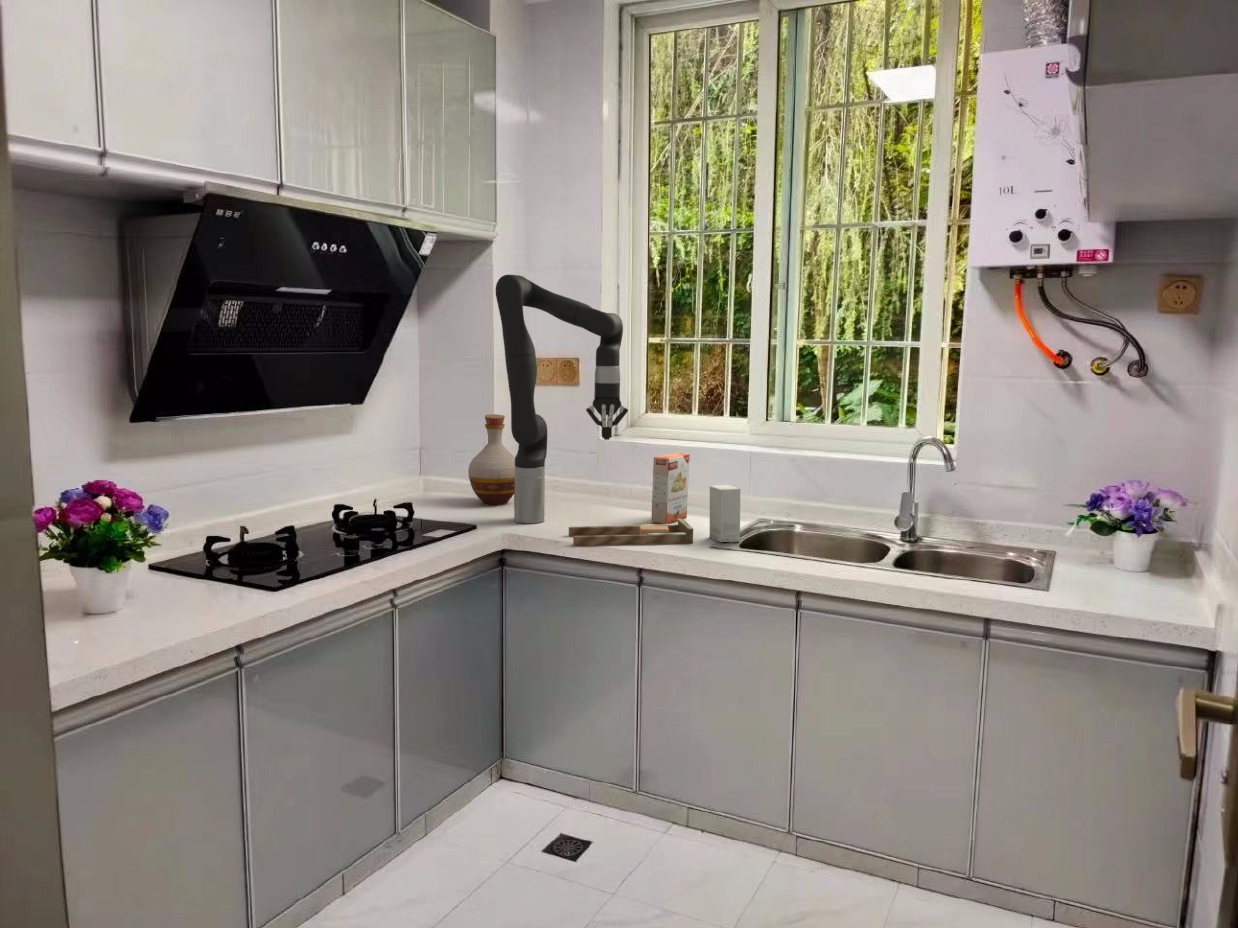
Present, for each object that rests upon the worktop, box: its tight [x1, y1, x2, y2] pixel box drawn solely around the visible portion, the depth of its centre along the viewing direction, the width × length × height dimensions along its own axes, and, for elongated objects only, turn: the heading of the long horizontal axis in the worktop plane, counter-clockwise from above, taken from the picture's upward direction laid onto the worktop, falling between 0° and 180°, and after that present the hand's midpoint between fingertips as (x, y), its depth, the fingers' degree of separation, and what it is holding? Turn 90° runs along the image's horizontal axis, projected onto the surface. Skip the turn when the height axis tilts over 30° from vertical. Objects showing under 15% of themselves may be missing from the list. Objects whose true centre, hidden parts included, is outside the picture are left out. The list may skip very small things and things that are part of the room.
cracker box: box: [650, 452, 690, 524], centre depth 291 cm, size 14×6×21 cm, turn 148°
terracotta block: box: [639, 524, 669, 534], centre depth 266 cm, size 8×5×4 cm, turn 92°
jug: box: [467, 413, 516, 506], centre depth 314 cm, size 20×18×30 cm
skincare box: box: [709, 484, 741, 543], centre depth 267 cm, size 8×7×16 cm
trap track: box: [568, 518, 694, 547], centre depth 266 cm, size 34×13×4 cm, turn 99°
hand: (606, 439), depth 277 cm, fingers closed
